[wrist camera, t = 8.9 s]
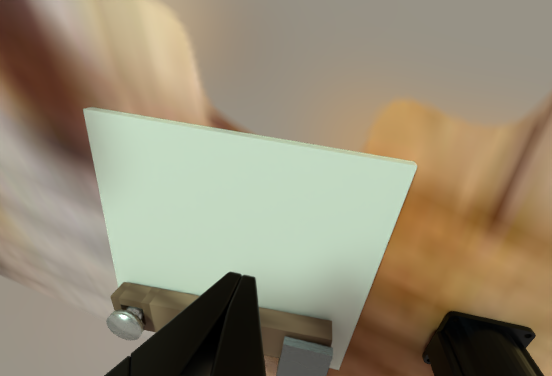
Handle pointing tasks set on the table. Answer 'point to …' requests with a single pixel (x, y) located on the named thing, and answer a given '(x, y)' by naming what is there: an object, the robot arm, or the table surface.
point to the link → (169, 304)
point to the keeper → (303, 358)
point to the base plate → (244, 215)
